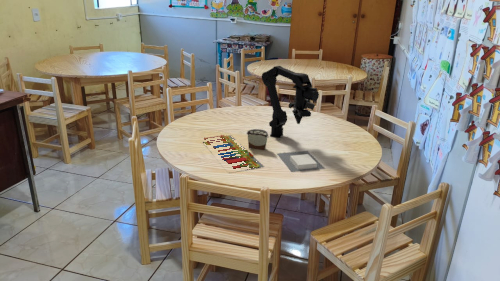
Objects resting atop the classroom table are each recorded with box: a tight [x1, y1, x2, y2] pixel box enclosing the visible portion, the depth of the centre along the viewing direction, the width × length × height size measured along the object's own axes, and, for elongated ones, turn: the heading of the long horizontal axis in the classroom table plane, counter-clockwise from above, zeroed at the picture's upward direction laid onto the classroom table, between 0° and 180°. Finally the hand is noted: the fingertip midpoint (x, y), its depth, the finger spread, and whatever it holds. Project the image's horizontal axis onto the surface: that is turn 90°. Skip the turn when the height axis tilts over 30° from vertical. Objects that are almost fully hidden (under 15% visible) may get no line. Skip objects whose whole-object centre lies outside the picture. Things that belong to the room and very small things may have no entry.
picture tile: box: [290, 154, 317, 170], centre depth 183 cm, size 3×10×11 cm
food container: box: [246, 128, 269, 151], centre depth 199 cm, size 12×6×10 cm, turn 71°
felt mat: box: [276, 150, 326, 173], centre depth 187 cm, size 22×18×1 cm
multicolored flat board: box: [203, 134, 265, 171], centre depth 194 cm, size 45×2×19 cm
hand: (298, 123), depth 204 cm, fingers closed
